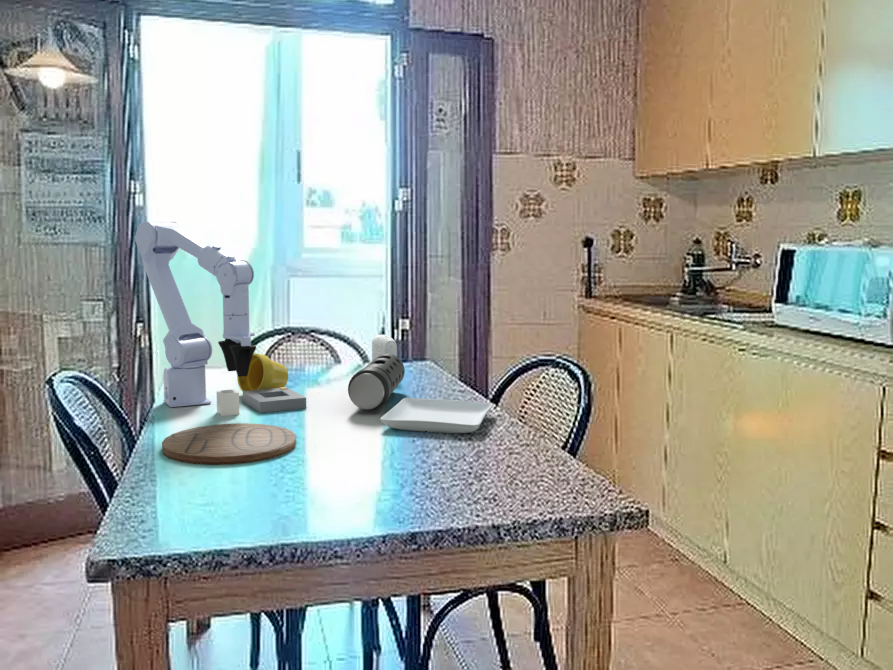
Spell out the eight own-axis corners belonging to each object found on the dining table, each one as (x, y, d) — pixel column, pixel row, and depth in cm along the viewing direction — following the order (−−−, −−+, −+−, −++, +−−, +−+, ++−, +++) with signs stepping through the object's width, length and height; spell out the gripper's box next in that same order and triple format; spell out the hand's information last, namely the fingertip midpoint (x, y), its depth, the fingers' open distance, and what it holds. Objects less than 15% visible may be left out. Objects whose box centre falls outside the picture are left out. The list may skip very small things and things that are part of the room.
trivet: (157, 471, 144) (157, 460, 144) (166, 435, 168) (165, 426, 168) (302, 462, 151) (302, 451, 150) (290, 429, 175) (290, 420, 174)
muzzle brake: (405, 392, 214) (405, 352, 212) (387, 417, 186) (387, 371, 185) (369, 391, 214) (369, 352, 213) (345, 415, 187) (345, 370, 185)
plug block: (221, 416, 184) (221, 393, 184) (217, 412, 188) (216, 390, 187) (239, 414, 186) (238, 391, 186) (234, 410, 190) (234, 388, 189)
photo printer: (398, 381, 228) (399, 336, 227) (384, 382, 226) (384, 337, 225) (383, 375, 237) (383, 332, 236) (369, 376, 235) (369, 333, 234)
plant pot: (298, 383, 208) (268, 380, 200) (273, 405, 212) (243, 402, 205) (286, 349, 212) (256, 345, 205) (262, 371, 217) (232, 367, 209)
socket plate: (260, 412, 188) (260, 401, 187) (242, 401, 200) (242, 390, 200) (306, 408, 193) (306, 396, 193) (286, 397, 205) (286, 386, 205)
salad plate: (479, 439, 168) (479, 423, 167) (378, 433, 172) (378, 417, 172) (494, 416, 188) (494, 401, 188) (403, 411, 193) (403, 397, 192)
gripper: (263, 316, 183) (264, 377, 185) (243, 310, 195) (245, 367, 197) (232, 318, 180) (233, 379, 181) (214, 312, 192) (215, 369, 194)
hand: (237, 373), depth 189 cm, fingers open, 7 cm apart
